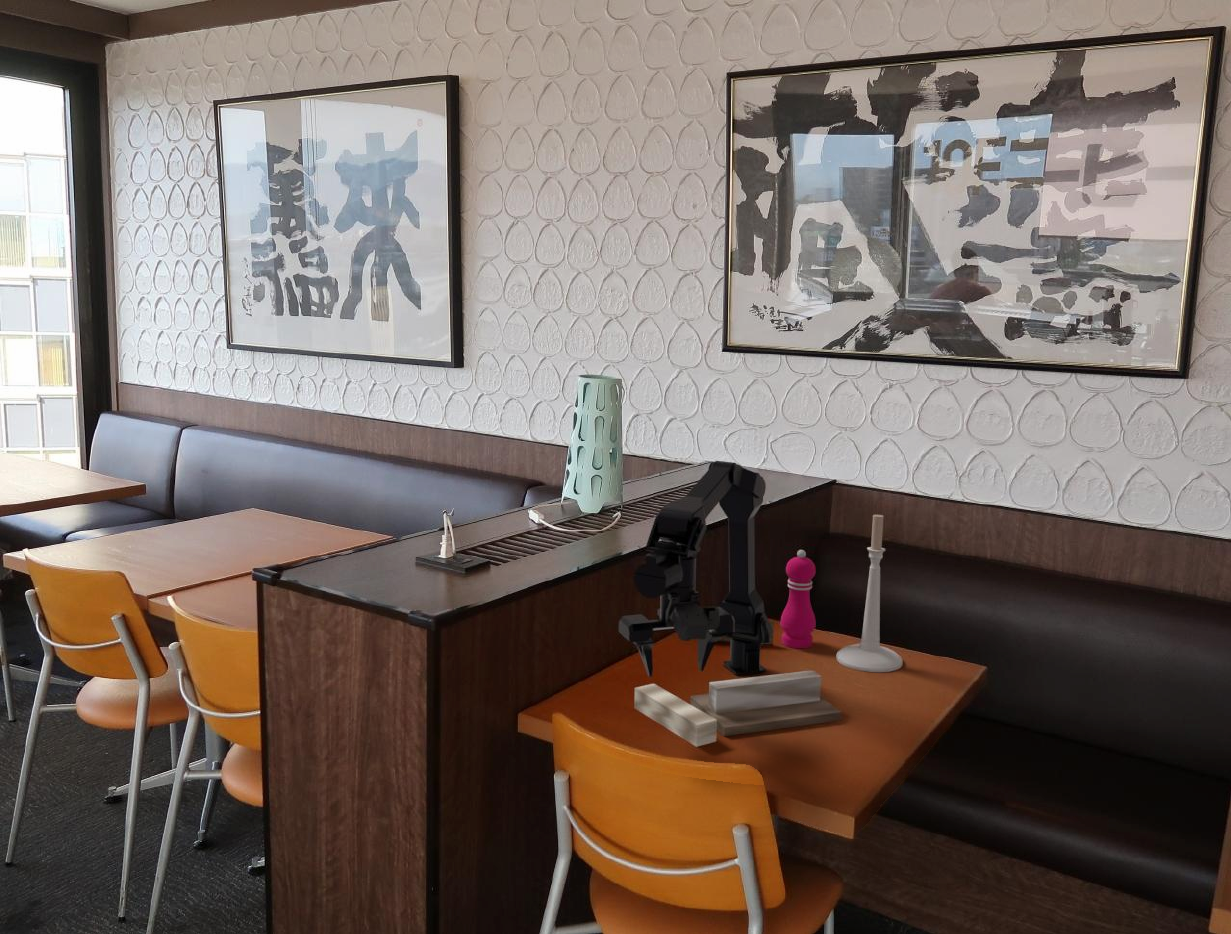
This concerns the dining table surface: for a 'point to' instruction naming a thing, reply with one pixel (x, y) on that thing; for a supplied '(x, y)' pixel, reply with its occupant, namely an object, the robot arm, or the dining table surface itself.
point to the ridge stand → (766, 703)
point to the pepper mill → (799, 603)
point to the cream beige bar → (676, 715)
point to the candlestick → (871, 619)
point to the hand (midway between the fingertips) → (675, 673)
